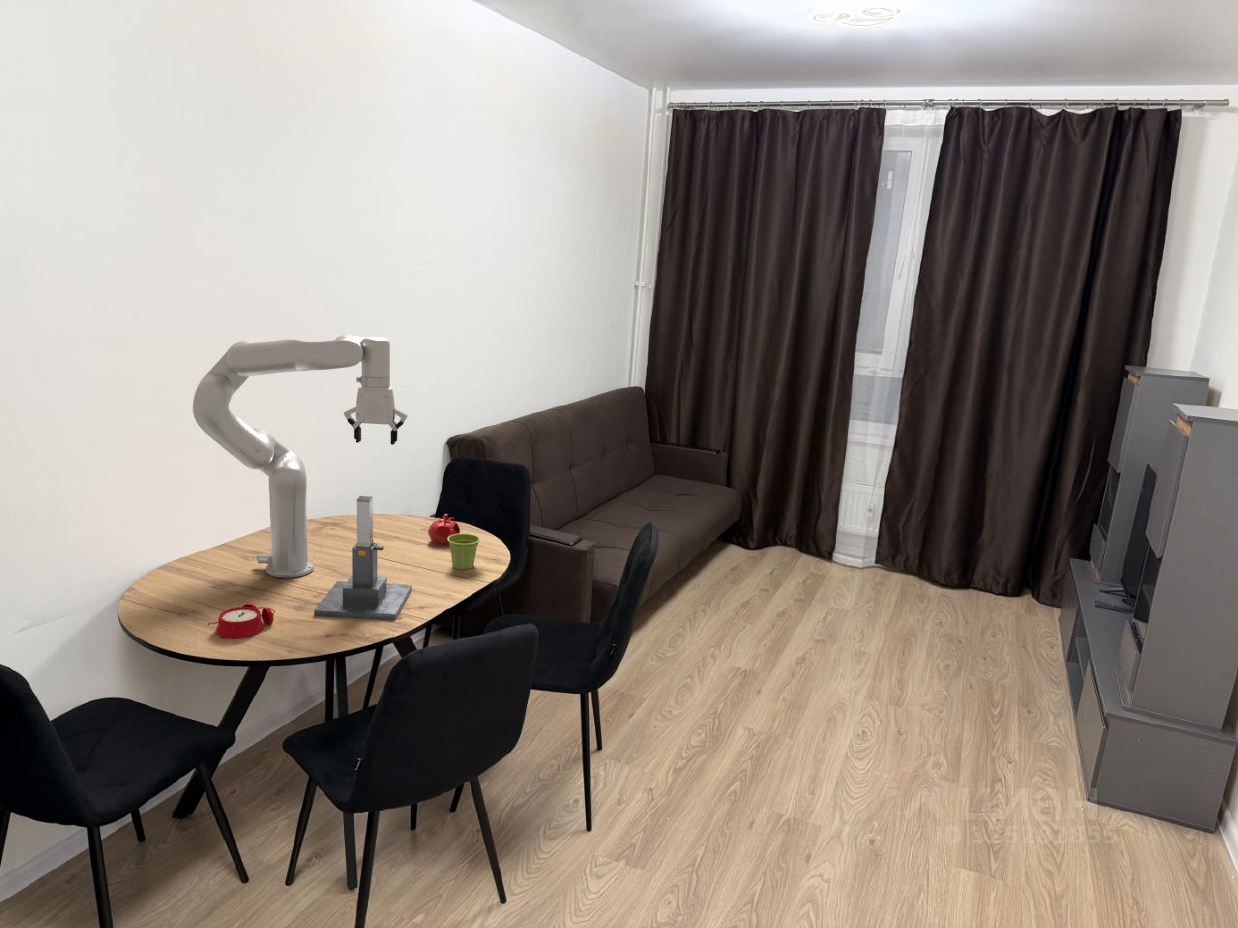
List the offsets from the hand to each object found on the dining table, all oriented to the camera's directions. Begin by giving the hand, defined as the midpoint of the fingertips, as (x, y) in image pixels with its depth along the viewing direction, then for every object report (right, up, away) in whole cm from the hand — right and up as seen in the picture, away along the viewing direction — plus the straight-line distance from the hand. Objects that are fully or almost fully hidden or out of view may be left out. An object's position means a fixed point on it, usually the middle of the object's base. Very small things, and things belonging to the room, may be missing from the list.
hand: (375, 442), depth 242 cm
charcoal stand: (+3, -42, -19) cm, 46 cm away
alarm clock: (-20, -45, -37) cm, 62 cm away
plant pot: (+23, -36, +11) cm, 44 cm away
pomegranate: (+13, -31, +31) cm, 46 cm away
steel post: (+3, -31, -21) cm, 38 cm away
